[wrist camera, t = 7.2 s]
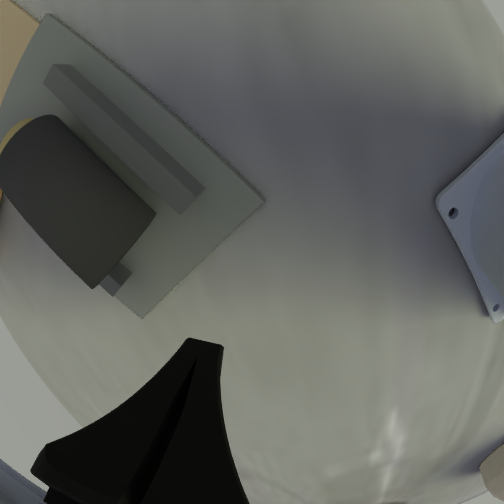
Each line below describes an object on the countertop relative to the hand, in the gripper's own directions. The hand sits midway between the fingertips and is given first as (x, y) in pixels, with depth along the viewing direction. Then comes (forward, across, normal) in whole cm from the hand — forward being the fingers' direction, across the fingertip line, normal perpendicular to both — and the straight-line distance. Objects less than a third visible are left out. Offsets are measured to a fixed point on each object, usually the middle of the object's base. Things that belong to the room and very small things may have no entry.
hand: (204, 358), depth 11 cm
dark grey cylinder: (+4, +6, -5) cm, 9 cm away
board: (+4, +11, -8) cm, 14 cm away
